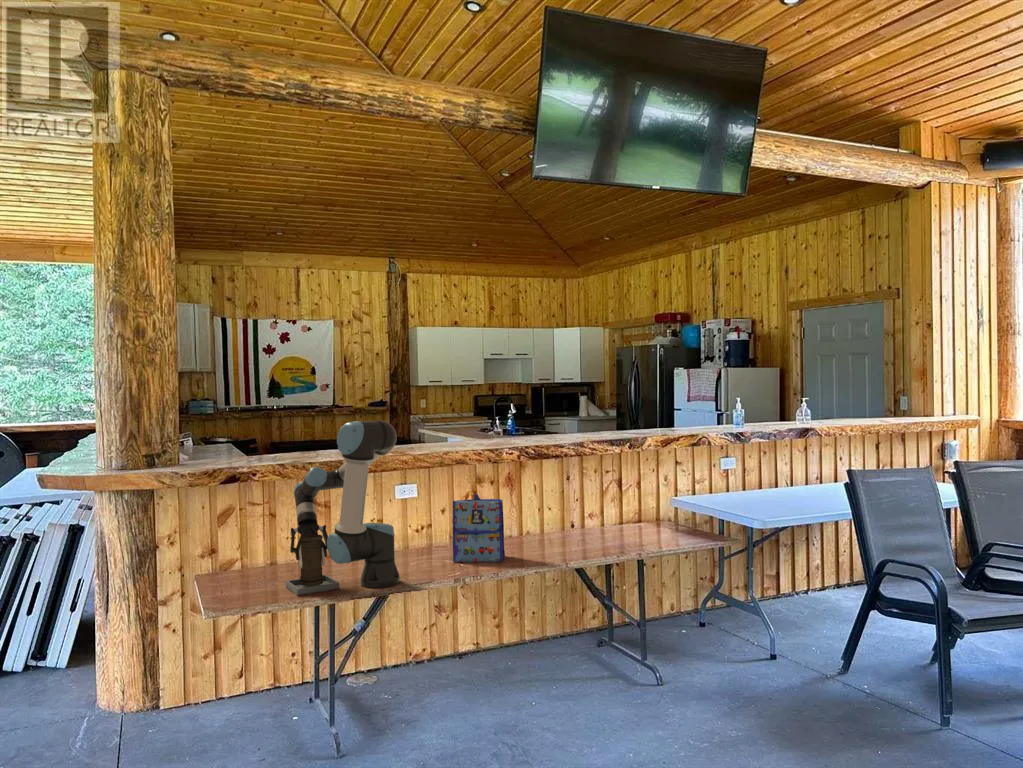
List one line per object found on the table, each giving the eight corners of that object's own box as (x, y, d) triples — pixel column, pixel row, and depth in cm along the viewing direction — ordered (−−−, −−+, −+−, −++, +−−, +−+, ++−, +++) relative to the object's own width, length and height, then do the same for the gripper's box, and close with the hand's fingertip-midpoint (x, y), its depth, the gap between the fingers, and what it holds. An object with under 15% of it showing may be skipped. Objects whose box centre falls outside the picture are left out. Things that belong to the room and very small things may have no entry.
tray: (326, 580, 298) (326, 574, 298) (339, 589, 284) (339, 582, 284) (285, 587, 290) (285, 580, 290) (297, 596, 276) (297, 589, 276)
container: (317, 586, 282) (317, 538, 282) (295, 585, 283) (295, 538, 284) (327, 580, 291) (327, 534, 291) (306, 579, 292) (305, 533, 293)
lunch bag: (452, 563, 323) (450, 496, 323) (457, 556, 336) (455, 492, 337) (503, 562, 321) (501, 495, 322) (505, 555, 335) (503, 491, 335)
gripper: (332, 519, 306) (339, 567, 290) (279, 524, 298) (284, 573, 283) (333, 508, 301) (341, 556, 285) (280, 512, 293) (284, 562, 278)
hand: (312, 565), depth 284 cm, fingers closed on container, 8 cm apart
